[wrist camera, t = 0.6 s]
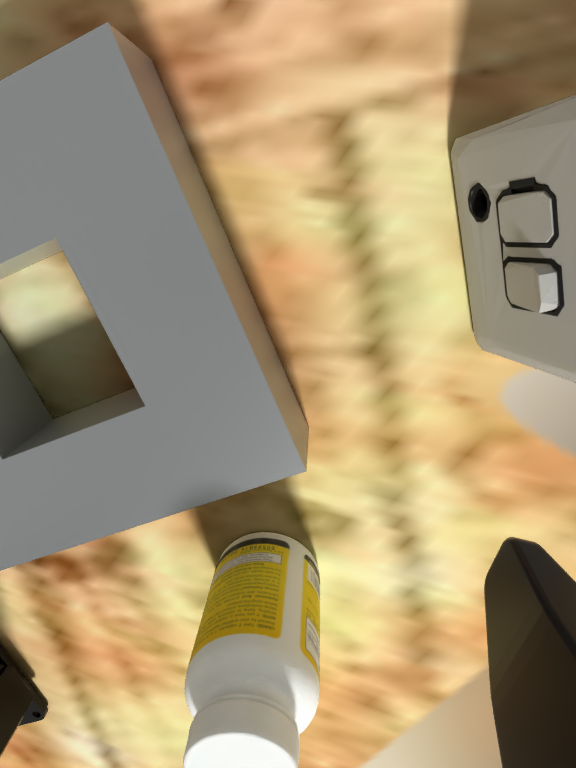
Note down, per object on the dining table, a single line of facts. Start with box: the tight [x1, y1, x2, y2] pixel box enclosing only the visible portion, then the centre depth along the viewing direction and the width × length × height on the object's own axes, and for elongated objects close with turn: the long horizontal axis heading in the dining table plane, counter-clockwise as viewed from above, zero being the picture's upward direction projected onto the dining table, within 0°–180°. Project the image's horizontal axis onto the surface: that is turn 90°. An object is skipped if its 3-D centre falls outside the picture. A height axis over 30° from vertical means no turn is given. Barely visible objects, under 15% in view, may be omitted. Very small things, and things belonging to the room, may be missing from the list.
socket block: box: [0, 22, 309, 571], centre depth 20 cm, size 16×16×4 cm
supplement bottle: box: [183, 532, 320, 768], centre depth 22 cm, size 5×5×10 cm
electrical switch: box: [451, 95, 576, 383], centre depth 16 cm, size 8×5×8 cm, turn 14°
